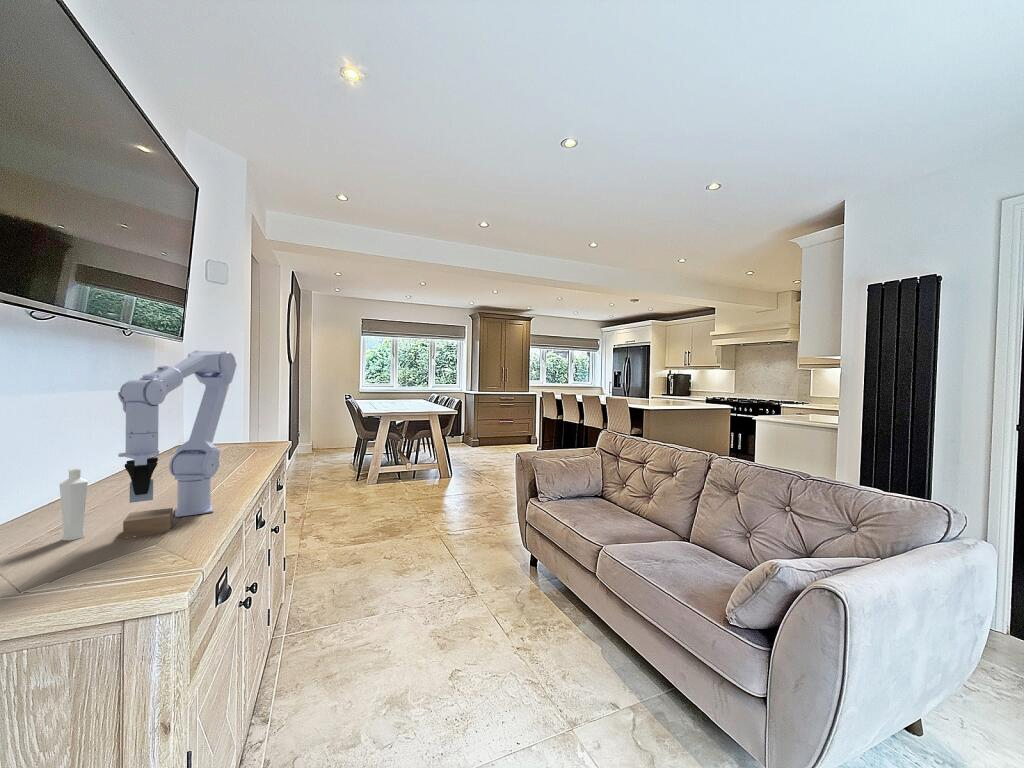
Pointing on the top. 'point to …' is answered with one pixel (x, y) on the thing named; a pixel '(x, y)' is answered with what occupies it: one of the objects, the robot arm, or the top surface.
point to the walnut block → (148, 522)
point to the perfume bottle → (73, 505)
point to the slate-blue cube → (141, 497)
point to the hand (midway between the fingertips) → (141, 492)
